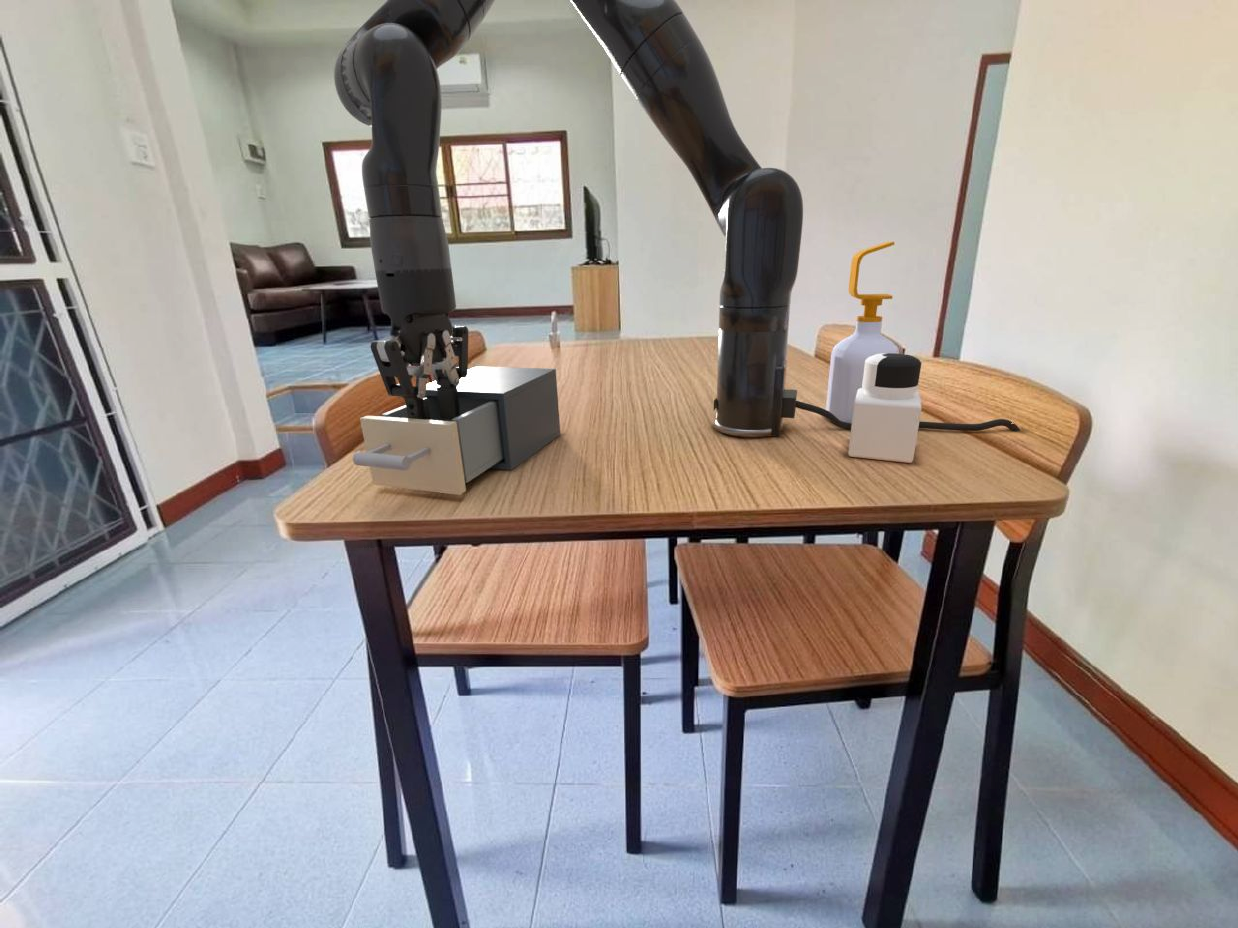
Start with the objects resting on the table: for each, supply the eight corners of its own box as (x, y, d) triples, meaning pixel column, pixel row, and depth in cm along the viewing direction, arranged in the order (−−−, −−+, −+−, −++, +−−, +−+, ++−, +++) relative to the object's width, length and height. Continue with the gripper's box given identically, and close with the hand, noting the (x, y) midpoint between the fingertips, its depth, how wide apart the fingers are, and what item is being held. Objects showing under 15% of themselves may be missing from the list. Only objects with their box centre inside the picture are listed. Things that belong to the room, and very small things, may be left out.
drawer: (432, 514, 55) (420, 439, 52) (341, 501, 59) (325, 431, 56) (520, 453, 71) (514, 393, 68) (444, 446, 75) (435, 389, 72)
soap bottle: (897, 429, 78) (926, 240, 69) (829, 427, 80) (848, 243, 71) (882, 412, 86) (906, 241, 78) (820, 410, 88) (837, 243, 79)
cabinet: (511, 470, 68) (503, 393, 65) (424, 461, 72) (412, 388, 69) (560, 434, 81) (555, 368, 78) (485, 429, 85) (477, 366, 82)
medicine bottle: (911, 445, 72) (926, 351, 68) (912, 464, 66) (929, 362, 61) (851, 439, 75) (862, 349, 70) (847, 457, 69) (859, 359, 64)
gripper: (426, 265, 65) (445, 407, 71) (331, 268, 53) (364, 441, 59) (482, 264, 63) (497, 410, 69) (396, 266, 50) (424, 446, 56)
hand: (436, 423), depth 64 cm, fingers open, 4 cm apart
